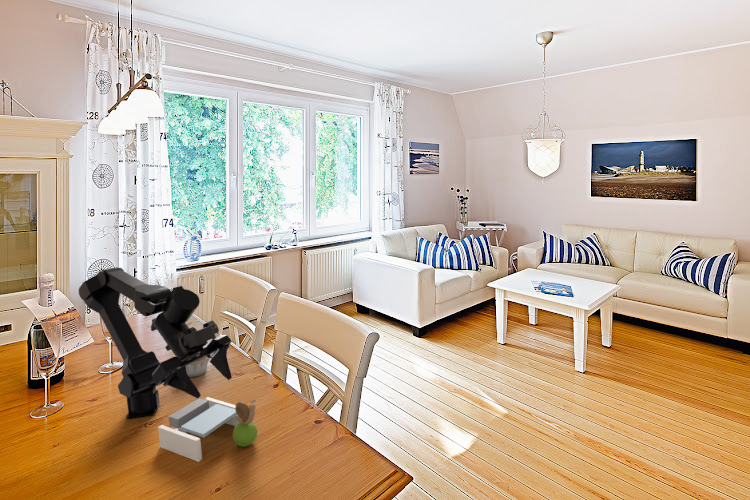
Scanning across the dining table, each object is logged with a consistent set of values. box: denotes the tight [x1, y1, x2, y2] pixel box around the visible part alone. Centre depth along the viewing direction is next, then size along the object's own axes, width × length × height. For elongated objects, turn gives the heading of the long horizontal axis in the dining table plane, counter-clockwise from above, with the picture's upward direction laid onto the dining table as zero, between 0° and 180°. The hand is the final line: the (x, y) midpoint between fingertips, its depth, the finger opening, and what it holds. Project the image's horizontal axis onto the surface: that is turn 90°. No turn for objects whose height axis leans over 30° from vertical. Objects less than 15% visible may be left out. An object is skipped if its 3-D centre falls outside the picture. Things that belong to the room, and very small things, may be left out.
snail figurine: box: [232, 399, 258, 448], centre depth 98 cm, size 5×6×12 cm
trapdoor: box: [168, 397, 237, 438], centre depth 101 cm, size 11×12×2 cm
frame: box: [157, 396, 240, 463], centre depth 102 cm, size 14×12×5 cm
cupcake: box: [186, 346, 211, 378], centre depth 134 cm, size 9×9×10 cm
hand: (215, 387), depth 97 cm, fingers open, 9 cm apart
